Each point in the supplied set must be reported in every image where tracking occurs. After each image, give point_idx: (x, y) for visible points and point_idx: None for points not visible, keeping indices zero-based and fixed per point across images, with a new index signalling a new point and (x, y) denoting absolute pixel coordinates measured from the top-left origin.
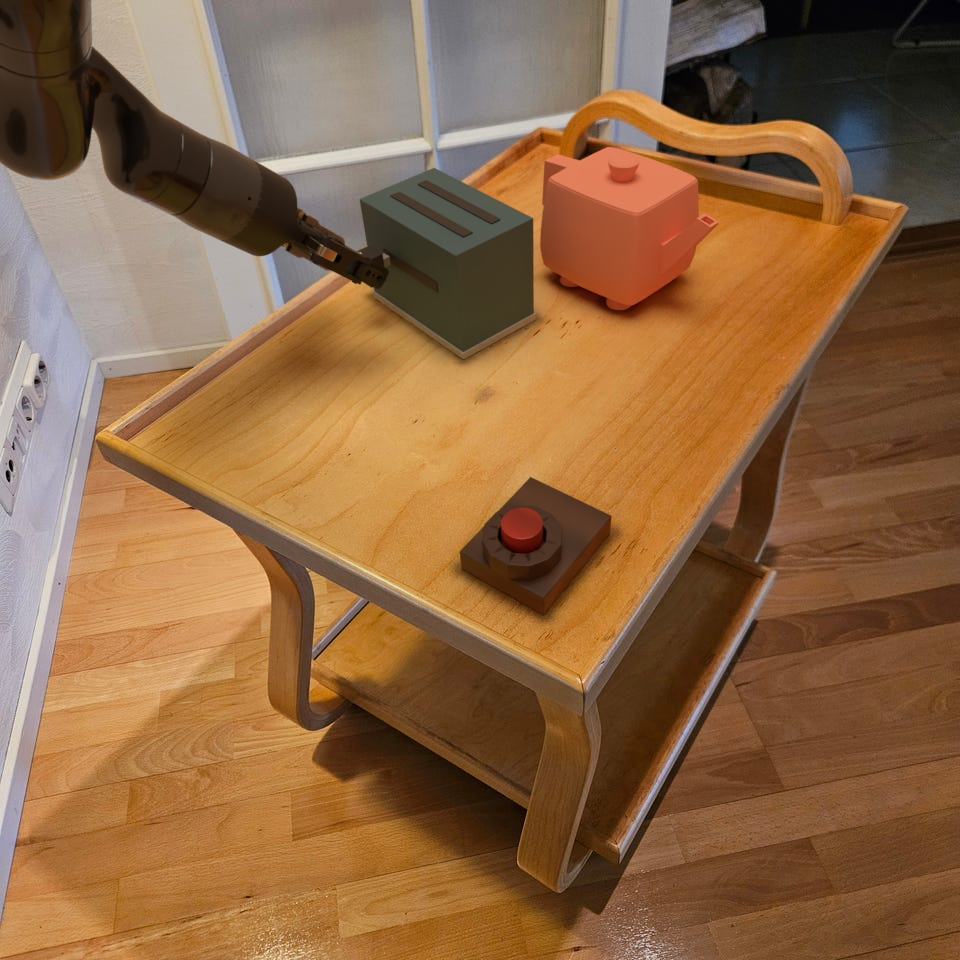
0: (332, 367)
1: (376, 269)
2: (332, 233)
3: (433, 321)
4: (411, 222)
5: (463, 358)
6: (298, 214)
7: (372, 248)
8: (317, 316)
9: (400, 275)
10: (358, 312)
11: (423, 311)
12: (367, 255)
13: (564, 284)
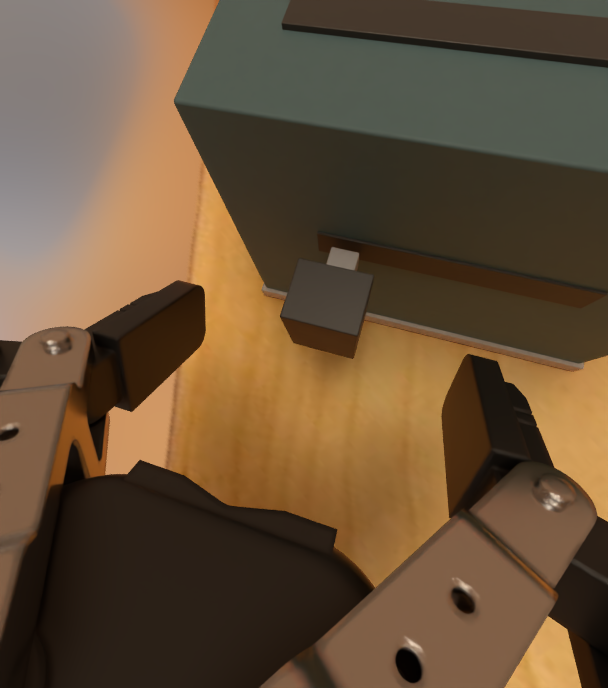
0: (348, 537)
1: (540, 436)
2: (504, 677)
3: (488, 331)
4: (526, 122)
5: (574, 370)
6: (18, 663)
7: (321, 267)
8: (203, 403)
9: (384, 274)
10: (270, 350)
11: (453, 318)
12: (334, 307)
13: None
